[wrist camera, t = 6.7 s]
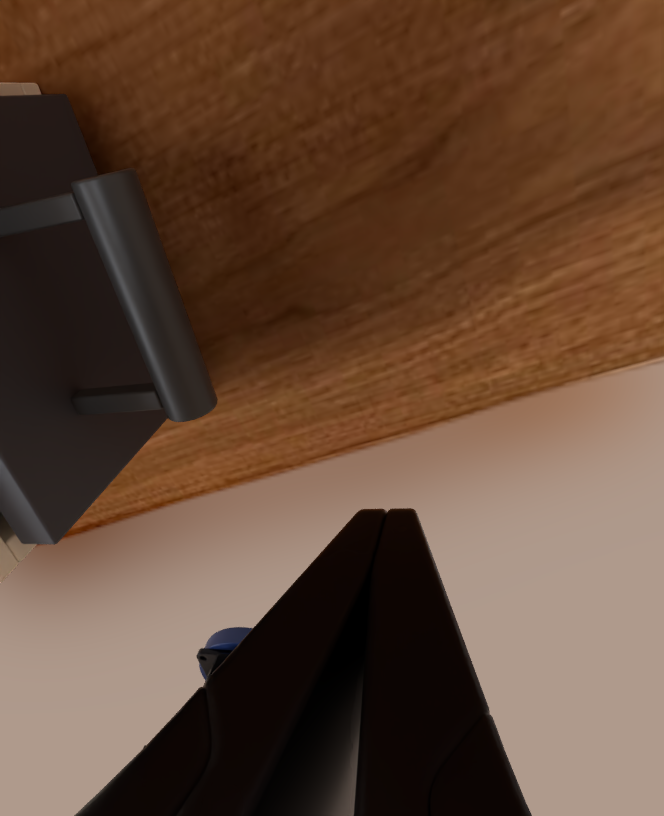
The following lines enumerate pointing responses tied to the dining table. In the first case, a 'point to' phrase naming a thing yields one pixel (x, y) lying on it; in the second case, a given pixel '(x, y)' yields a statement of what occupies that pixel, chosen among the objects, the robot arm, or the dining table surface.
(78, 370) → the drawer
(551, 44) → the dining table surface
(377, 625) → the robot arm
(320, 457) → the dining table surface
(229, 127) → the dining table surface
